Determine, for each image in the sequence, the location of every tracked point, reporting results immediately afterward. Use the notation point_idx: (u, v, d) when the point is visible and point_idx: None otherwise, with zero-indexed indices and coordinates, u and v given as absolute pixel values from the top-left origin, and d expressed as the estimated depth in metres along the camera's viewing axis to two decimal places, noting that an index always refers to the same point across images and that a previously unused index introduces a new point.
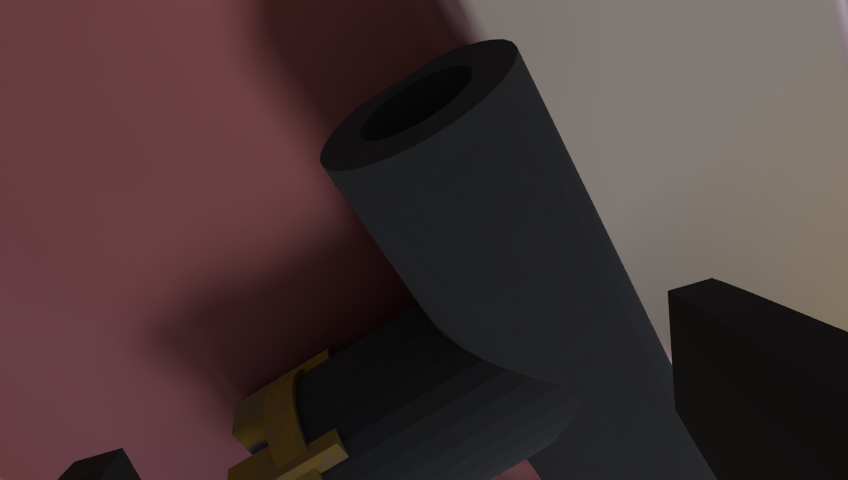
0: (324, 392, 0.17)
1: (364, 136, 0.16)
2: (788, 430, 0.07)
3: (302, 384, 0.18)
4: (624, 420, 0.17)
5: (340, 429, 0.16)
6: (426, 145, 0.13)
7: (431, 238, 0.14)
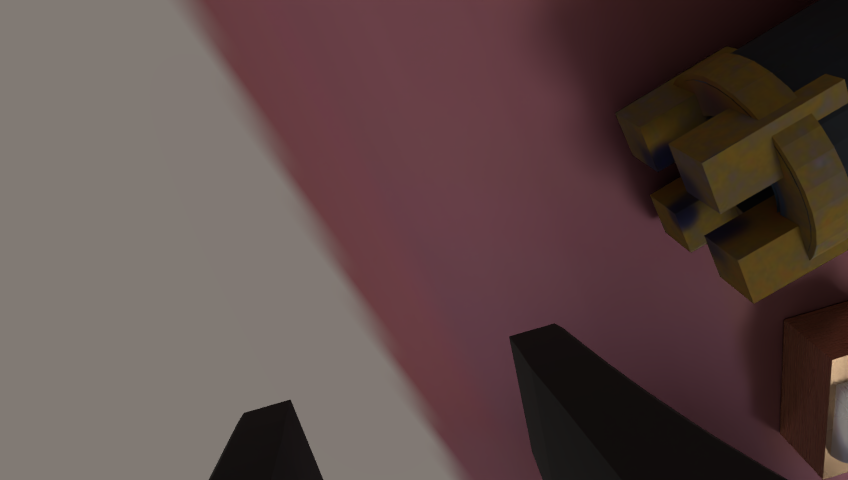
0: (792, 47, 0.14)
1: None
2: None
3: (741, 54, 0.15)
4: None
5: (834, 73, 0.14)
6: None
7: None
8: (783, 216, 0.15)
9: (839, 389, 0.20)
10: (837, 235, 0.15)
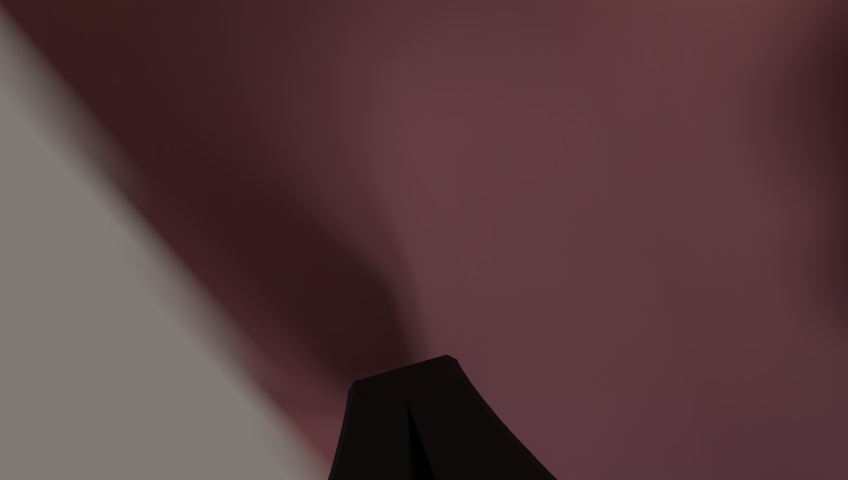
0: None
1: None
2: None
3: None
4: None
5: None
6: None
7: None
8: None
9: None
10: None
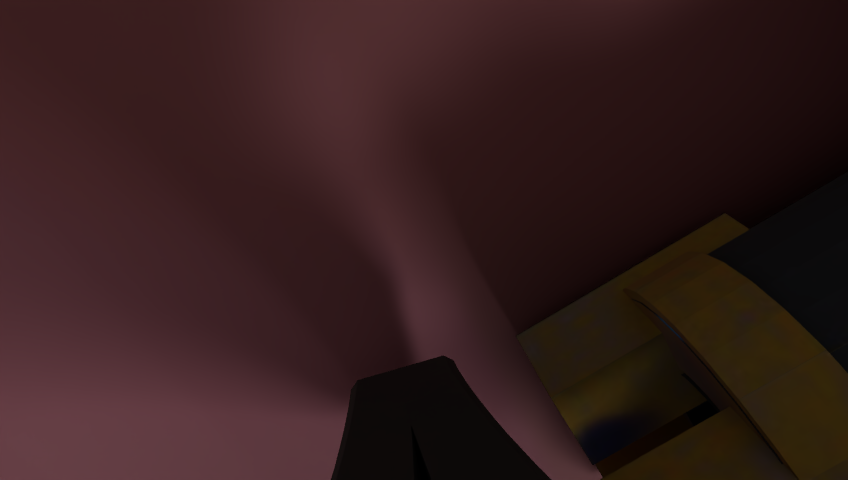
0: None
1: None
2: None
3: (755, 270, 0.07)
4: None
5: None
6: None
7: None
8: None
9: None
10: None
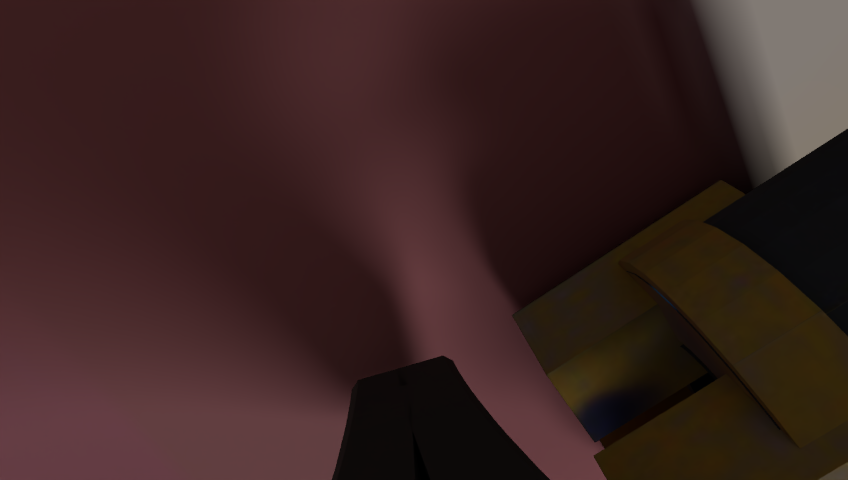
0: None
1: None
2: None
3: (749, 233, 0.07)
4: None
5: None
6: None
7: None
8: None
9: None
10: None
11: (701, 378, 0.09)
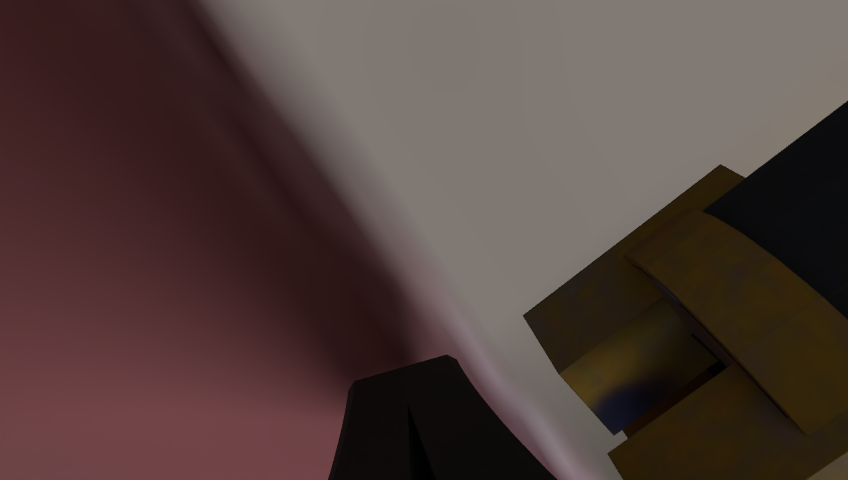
0: None
1: None
2: None
3: (748, 221, 0.07)
4: None
5: None
6: None
7: None
8: None
9: None
10: None
11: (718, 362, 0.09)
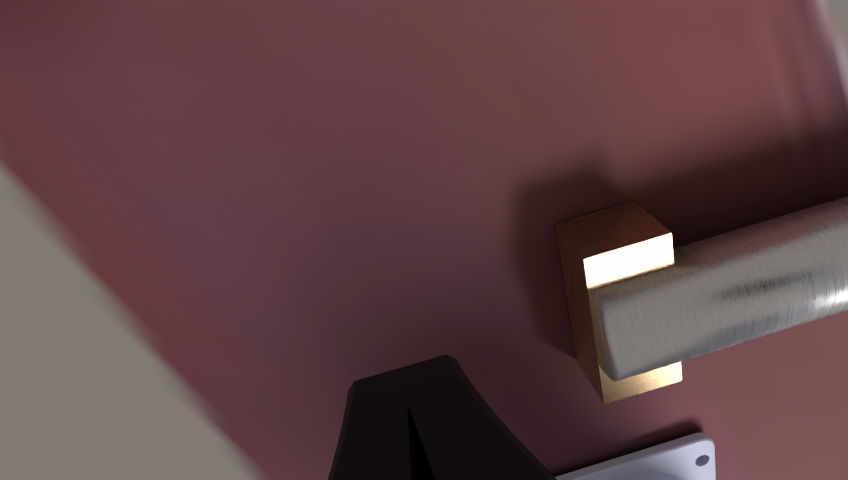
0: None
1: None
2: None
3: None
4: None
5: None
6: None
7: None
8: None
9: (600, 295, 0.18)
10: None
11: None
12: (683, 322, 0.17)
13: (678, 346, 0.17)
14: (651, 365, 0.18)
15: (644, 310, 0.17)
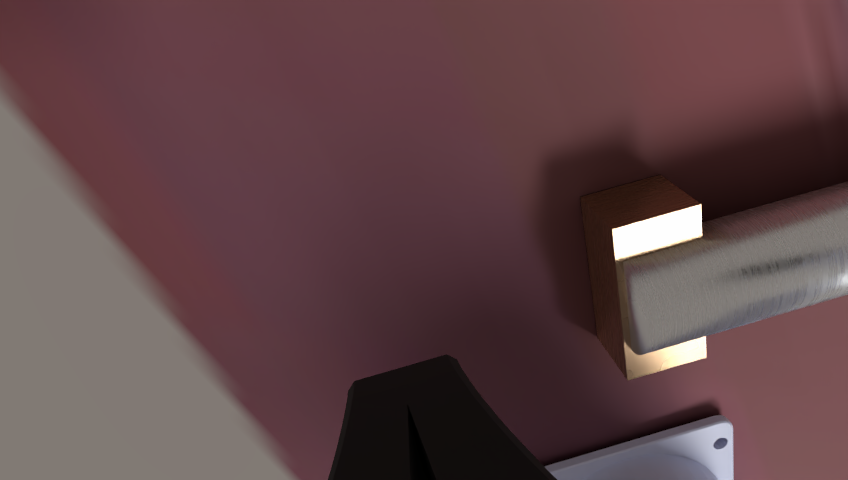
0: None
1: None
2: None
3: None
4: None
5: None
6: None
7: None
8: None
9: (628, 267, 0.18)
10: None
11: None
12: (712, 294, 0.17)
13: (706, 319, 0.17)
14: (678, 338, 0.18)
15: (673, 282, 0.17)
